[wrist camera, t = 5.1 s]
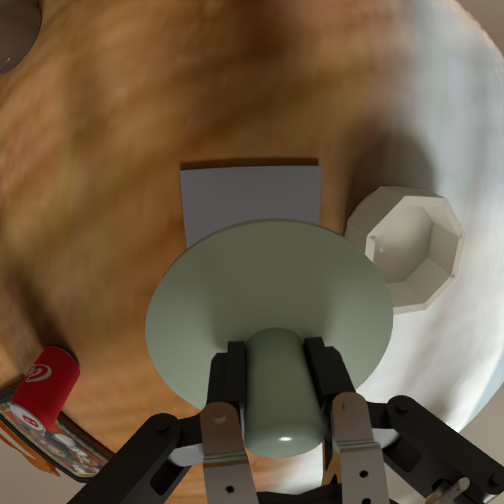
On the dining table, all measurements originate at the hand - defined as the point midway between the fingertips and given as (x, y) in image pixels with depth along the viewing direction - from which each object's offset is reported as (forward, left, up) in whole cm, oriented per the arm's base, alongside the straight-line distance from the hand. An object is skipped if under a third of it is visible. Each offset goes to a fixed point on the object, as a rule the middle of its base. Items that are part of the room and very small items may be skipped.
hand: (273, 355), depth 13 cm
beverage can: (+16, -27, -15) cm, 35 cm away
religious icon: (+45, -45, -16) cm, 66 cm away
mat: (0, 0, -15) cm, 15 cm away
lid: (0, 0, -1) cm, 1 cm away
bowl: (0, +14, -15) cm, 20 cm away
